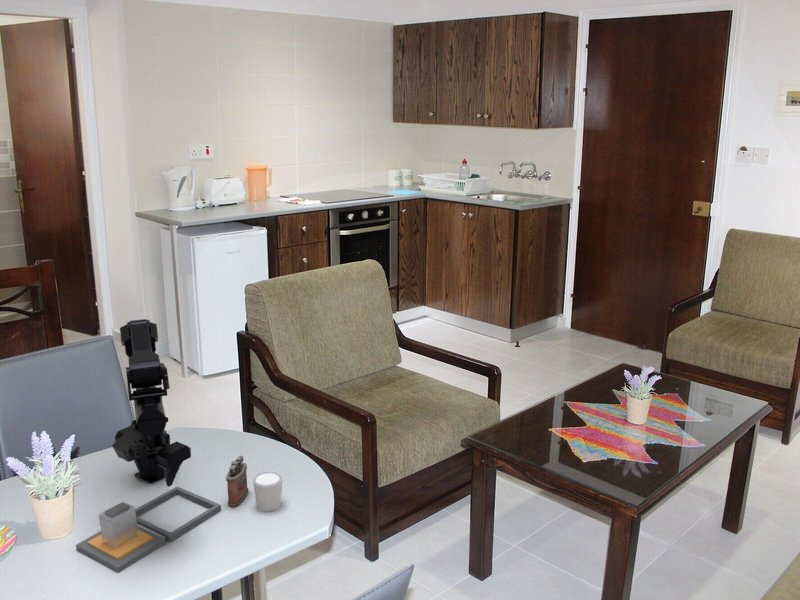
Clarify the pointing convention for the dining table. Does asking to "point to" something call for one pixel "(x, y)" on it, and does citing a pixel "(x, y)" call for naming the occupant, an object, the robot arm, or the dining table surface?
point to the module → (118, 525)
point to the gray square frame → (171, 536)
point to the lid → (122, 548)
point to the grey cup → (268, 490)
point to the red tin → (237, 482)
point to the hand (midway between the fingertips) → (155, 479)
